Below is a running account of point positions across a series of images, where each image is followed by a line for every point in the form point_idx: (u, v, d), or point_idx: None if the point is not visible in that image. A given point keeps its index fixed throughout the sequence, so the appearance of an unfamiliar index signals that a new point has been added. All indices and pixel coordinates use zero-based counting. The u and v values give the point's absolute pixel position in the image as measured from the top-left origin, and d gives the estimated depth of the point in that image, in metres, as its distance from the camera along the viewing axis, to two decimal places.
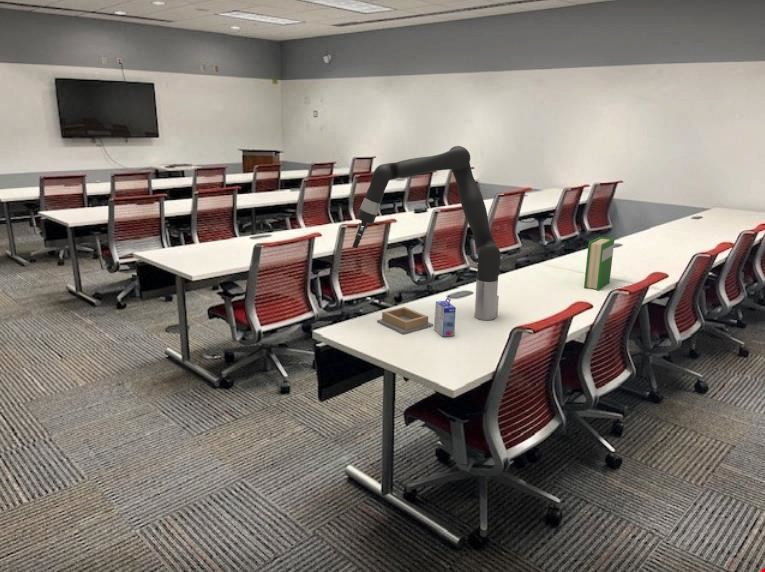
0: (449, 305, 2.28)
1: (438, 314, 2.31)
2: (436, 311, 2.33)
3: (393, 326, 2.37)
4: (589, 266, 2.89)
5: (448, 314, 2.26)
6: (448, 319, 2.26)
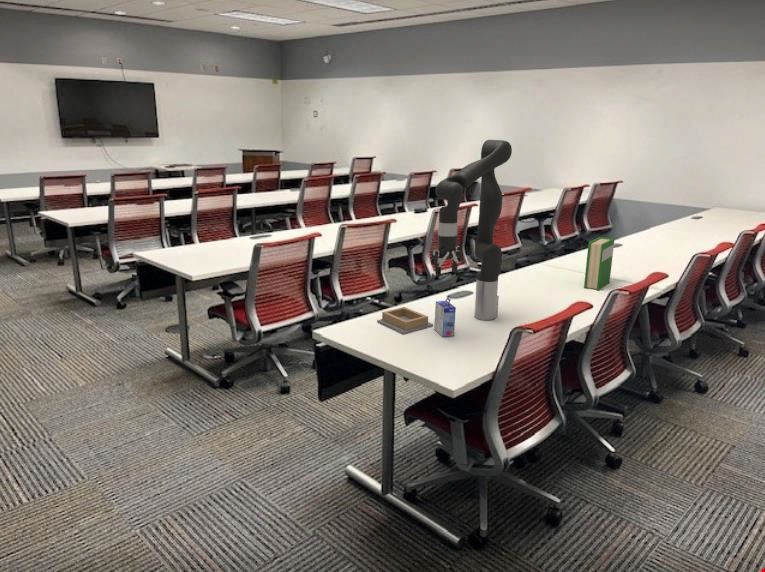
0: (449, 305, 2.28)
1: (438, 314, 2.31)
2: (436, 311, 2.33)
3: (393, 326, 2.37)
4: (589, 266, 2.89)
5: (448, 314, 2.26)
6: (448, 319, 2.26)
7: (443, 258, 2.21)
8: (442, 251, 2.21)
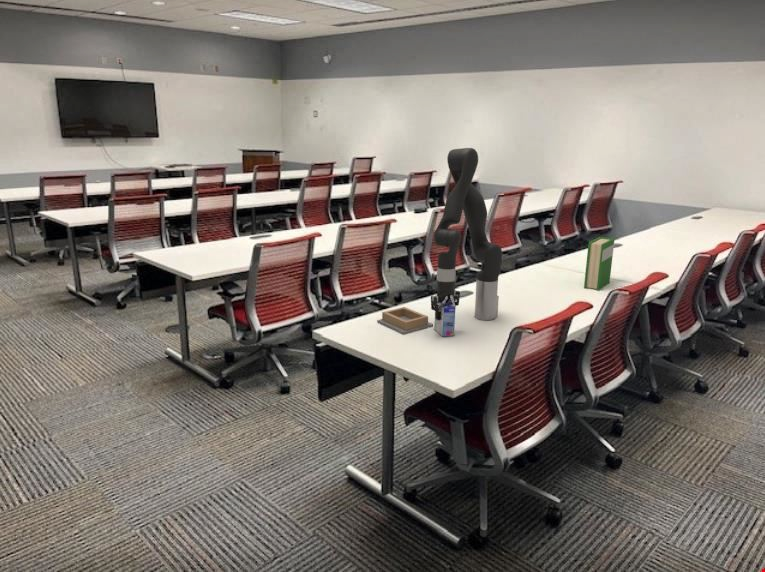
0: (449, 305, 2.28)
1: None
2: None
3: (393, 326, 2.37)
4: (589, 266, 2.89)
5: (448, 314, 2.26)
6: (448, 319, 2.26)
7: (442, 303, 2.26)
8: (441, 296, 2.26)
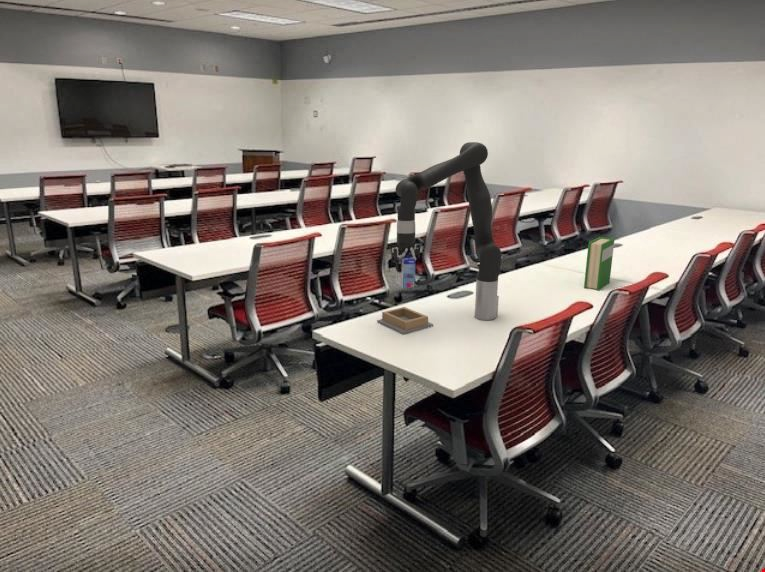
0: (409, 257, 2.32)
1: None
2: None
3: (393, 326, 2.37)
4: (589, 266, 2.89)
5: (408, 265, 2.30)
6: (408, 271, 2.30)
7: (402, 255, 2.30)
8: (400, 248, 2.30)
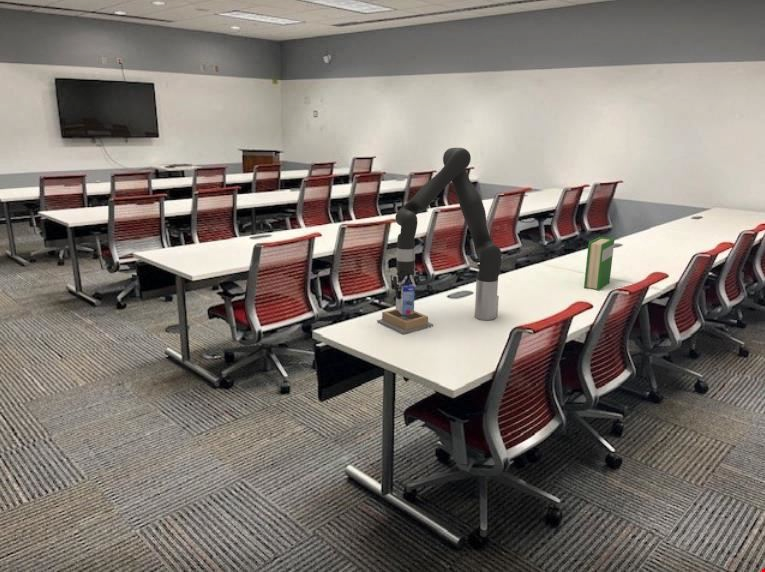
0: (408, 284, 2.35)
1: None
2: None
3: (393, 326, 2.37)
4: (589, 266, 2.89)
5: (407, 293, 2.33)
6: (407, 298, 2.34)
7: (402, 282, 2.34)
8: (400, 275, 2.33)
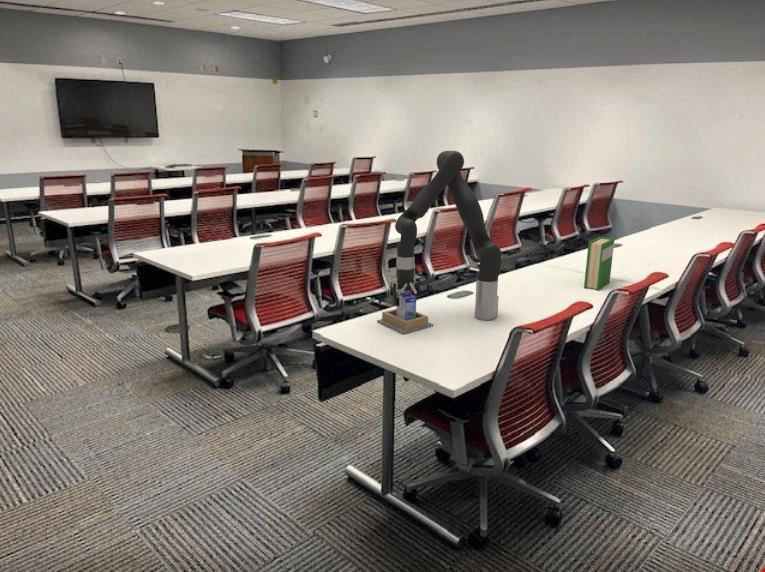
0: (410, 295, 2.37)
1: (400, 304, 2.40)
2: None
3: (393, 326, 2.37)
4: (589, 266, 2.89)
5: (409, 304, 2.35)
6: (409, 309, 2.35)
7: (401, 290, 2.34)
8: (400, 283, 2.34)
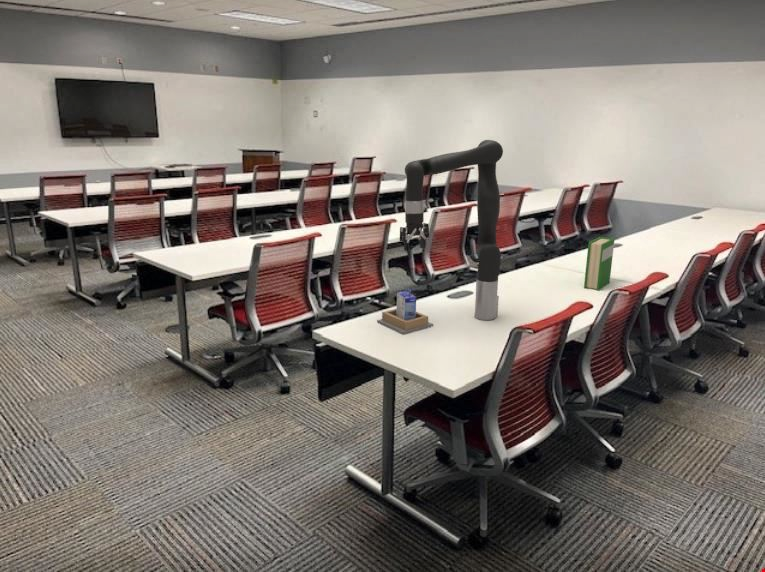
0: (410, 295, 2.37)
1: (400, 304, 2.40)
2: (398, 301, 2.42)
3: (393, 326, 2.37)
4: (589, 266, 2.89)
5: (409, 304, 2.35)
6: (409, 309, 2.35)
7: (411, 234, 2.35)
8: (409, 228, 2.34)
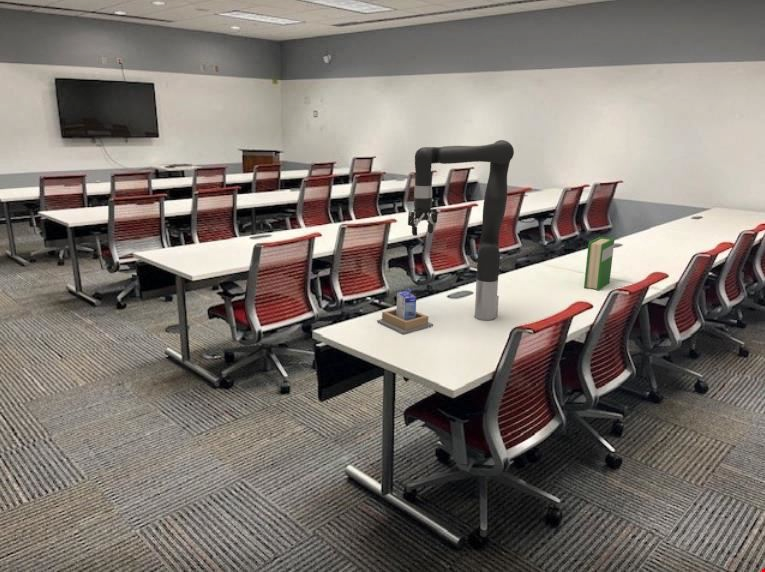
0: (410, 295, 2.37)
1: (400, 304, 2.40)
2: (398, 301, 2.42)
3: (393, 326, 2.37)
4: (589, 266, 2.89)
5: (409, 304, 2.35)
6: (409, 309, 2.35)
7: (419, 219, 2.39)
8: (418, 212, 2.39)
